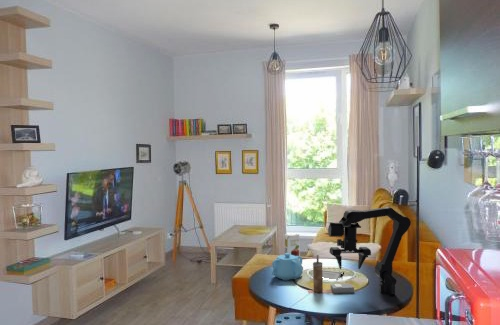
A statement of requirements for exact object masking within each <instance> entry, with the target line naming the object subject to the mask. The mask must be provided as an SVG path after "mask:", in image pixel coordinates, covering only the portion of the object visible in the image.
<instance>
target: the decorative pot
mask: <svg viewBox="0 0 500 325" xmlns="http://www.w3.org/2000/svg"><path fill="white" fill-rule="evenodd" d="M298 258H300V261H299V259H298ZM302 264H303V258H302V257H301V255H300V256H294V255H290V253H285V252H284V254H279V255H278V256H277V257H276V259H274V260H272V264H271V265H272V266H271V267H272V271H271V275H272V276H275V277H276V278H278V279H280V280H283V281H284V282H288V281H289V280H296V279H295V278H298V279H299V278H301V276H302V274H303V271H304V267H303V265H302Z"/></svg>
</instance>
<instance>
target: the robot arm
mask: <svg viewBox="0 0 500 325" xmlns="http://www.w3.org/2000/svg"><path fill="white" fill-rule="evenodd" d="M381 217H388V218H389V219H391V220H392V221H393V222H392V233H391V236H390V238H389V241H388V244H387V246H386V250H385V253H384V255H383V257H382V259H381V260H380V261H379V260H377V261H376V265H375V266H374V272H375V275H376V276H377V277H378V279H379V284H378V292H379V293H380V294H386V295H388V296H389V297H397V294H396V284H397V281H398V280H397V278H395V277H394V276H393V262H394V260H395V258H396V255H397V251H398V250H399V246H400V244H401V240H402V238H403V236H404V235H405V234H406V233H407V232H408V230H409V229H410V227H411V225H412V222H411V219H410V218H409V217H407V216H405V215H402V214H401V213H399V212H397V211H396V210H395V209H393V207H391V206H384V207H379V208H372V209H363V210H359V209H358V210H357V209H347V210H345V211H344V213H343V216H342V217H341V218H340V220H339V221H338V222H334V221H331V222H329V224H328V228H327V233H328V237H332V238H334V237H336V239H337V237H340V238H338V239H337V240H336V245H337V246H334V247H333V246H332V247H331V246H330V248H329V254H330V255H332V256H333V257H334V258H335V259H336V261H337V264H338V268H339V270H342V266H343V265H342V264H343V263H342V260H343V259H342V254H358V262H357V263H358V264H357V267H358V268H357V269H358V270H361V267H362V266H363V264H364V262H365V260H366V259H367V258H369V256H372V250H371V249H370V248H369V247H367V246H359V247H358V248H357V243H358V239H357V235H358V234H357V229H360V228H362V226H361V225H360V224H359V223H360V222H362V221H363V220H368V219H374V218H381ZM342 237H343V240H342V239H341V238H342ZM339 247H340V248H339Z"/></svg>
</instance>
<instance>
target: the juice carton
mask: <svg viewBox="0 0 500 325" xmlns="http://www.w3.org/2000/svg"><path fill="white" fill-rule="evenodd" d="M300 237H301V236H300V234H299V233H297V232H291V233H290V232H289V233H284V238H283V240H284V241H283V242H284V254H285V253H290V255H294V256H300V257H301V245H300V244H301V243H300V242H301V241H300V239H301V238H300ZM298 259H299V261H300V258H298Z"/></svg>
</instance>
